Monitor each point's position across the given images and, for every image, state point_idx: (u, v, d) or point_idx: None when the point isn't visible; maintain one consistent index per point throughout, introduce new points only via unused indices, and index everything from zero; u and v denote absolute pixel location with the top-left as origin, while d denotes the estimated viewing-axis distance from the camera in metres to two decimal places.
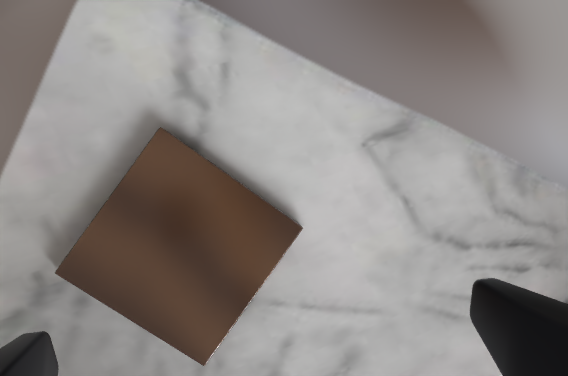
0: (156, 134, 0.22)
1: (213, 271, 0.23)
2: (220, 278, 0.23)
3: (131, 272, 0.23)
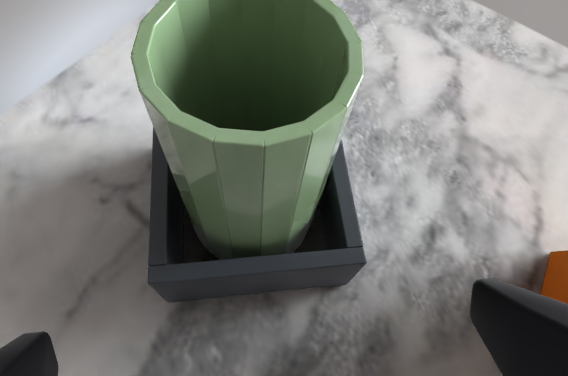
0: None
1: None
2: None
3: None
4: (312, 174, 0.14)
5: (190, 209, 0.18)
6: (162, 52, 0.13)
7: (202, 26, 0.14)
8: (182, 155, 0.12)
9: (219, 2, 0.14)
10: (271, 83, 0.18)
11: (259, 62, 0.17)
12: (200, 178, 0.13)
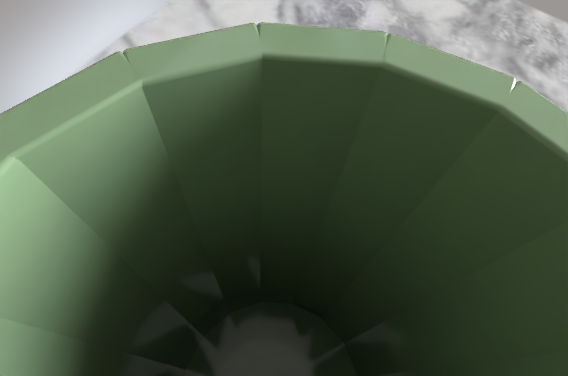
0: None
1: None
2: None
3: None
4: None
5: None
6: None
7: (145, 181, 0.05)
8: None
9: (193, 119, 0.04)
10: (319, 239, 0.08)
11: (297, 212, 0.07)
12: None
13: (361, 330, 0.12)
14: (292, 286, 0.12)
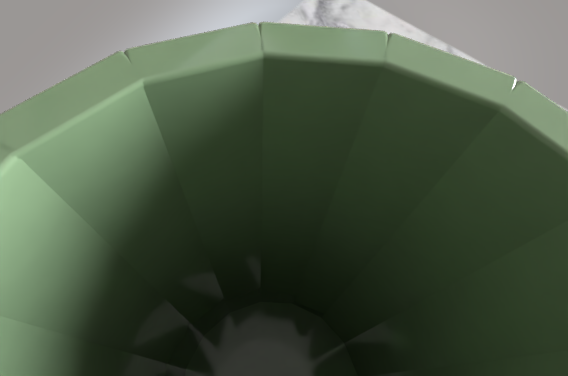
0: None
1: None
2: None
3: None
4: None
5: None
6: None
7: (146, 180, 0.05)
8: None
9: (194, 119, 0.04)
10: (319, 238, 0.08)
11: (298, 212, 0.07)
12: None
13: (361, 330, 0.12)
14: (292, 286, 0.13)
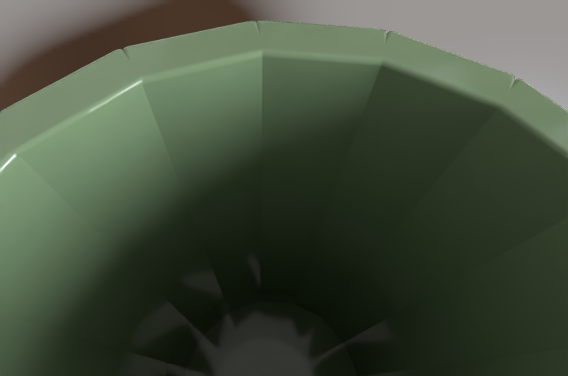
0: None
1: None
2: None
3: None
4: None
5: None
6: None
7: (146, 179, 0.05)
8: None
9: (193, 117, 0.04)
10: (319, 237, 0.08)
11: (297, 211, 0.07)
12: None
13: (361, 329, 0.12)
14: (292, 285, 0.13)
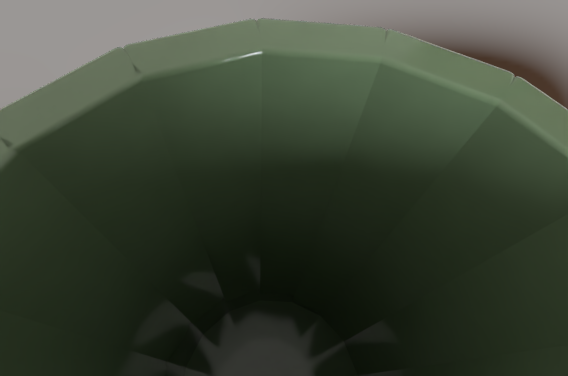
0: None
1: None
2: None
3: None
4: None
5: None
6: None
7: (146, 176, 0.05)
8: None
9: (193, 115, 0.04)
10: (318, 236, 0.08)
11: (297, 209, 0.07)
12: None
13: (361, 328, 0.12)
14: (292, 284, 0.13)
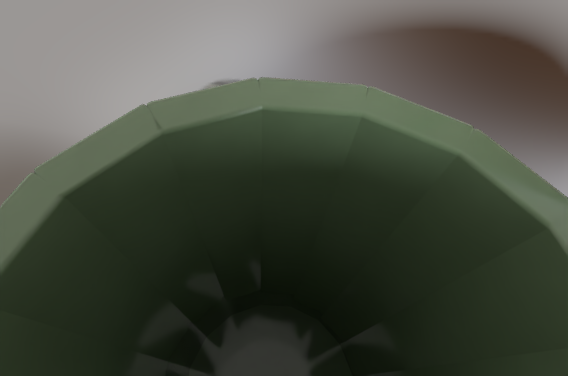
0: None
1: None
2: None
3: None
4: None
5: None
6: (32, 329, 0.04)
7: (162, 206, 0.06)
8: None
9: (203, 156, 0.05)
10: (314, 249, 0.09)
11: (294, 227, 0.08)
12: None
13: (355, 332, 0.13)
14: (290, 290, 0.13)
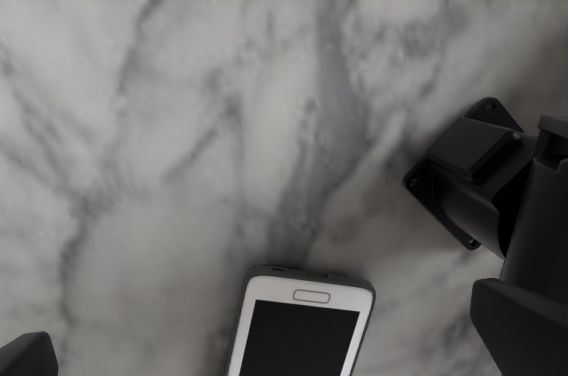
0: None
1: None
2: None
3: None
4: None
5: None
6: None
7: None
8: None
9: None
10: None
11: None
12: None
13: None
14: None
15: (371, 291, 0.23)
